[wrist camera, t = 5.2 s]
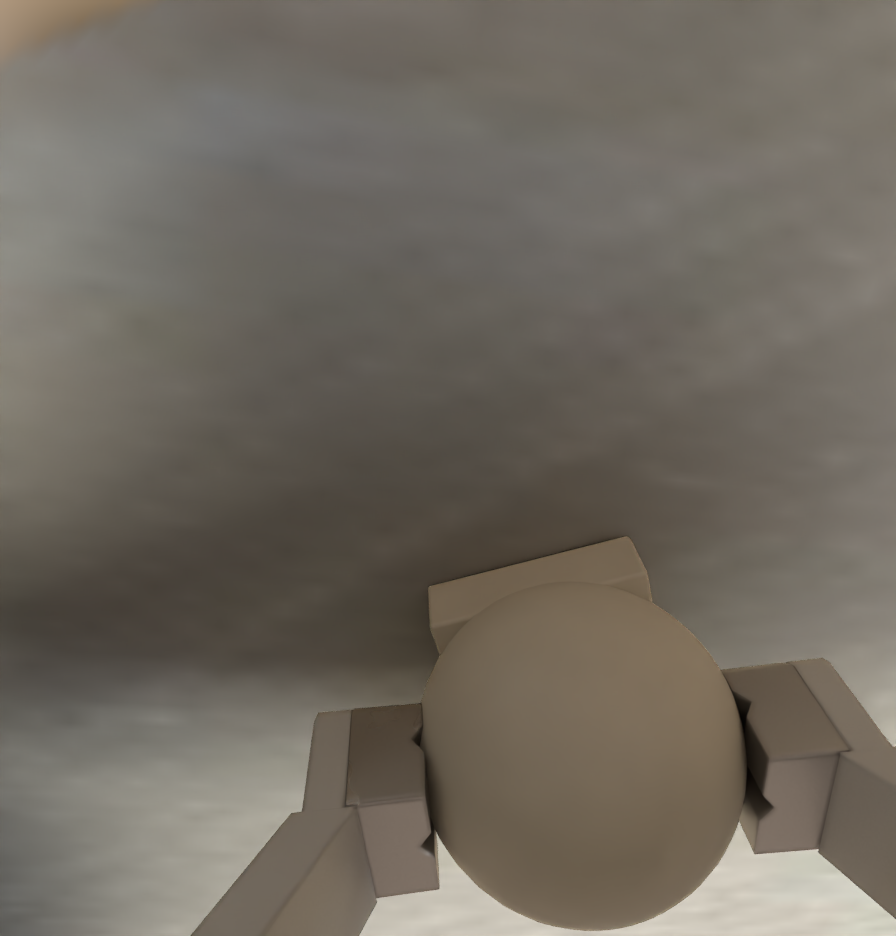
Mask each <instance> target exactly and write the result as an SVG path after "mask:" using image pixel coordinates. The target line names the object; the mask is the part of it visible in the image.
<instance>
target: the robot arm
mask: <svg viewBox="0 0 896 936" xmlns="http://www.w3.org/2000/svg"><path fill="white" fill-rule="evenodd" d="M721 672H722V674H723V675H724V677H725V679H726V681H727V683H728V685H729V687H730V690H731V692H732V694H733V696H734V699H735V702H736V705H737V707H738V710H739V713H740V717H741V721H742V725H743V729H744V738H745V747H746V755H747V780H746V791H745V798H744V803H743V807H742V811H741V814H740V818H739V822H740V824H741V826H742V828H743V830H744V832H745V835H746V837H747V839H748V841H749V843H750V845H751V848H752V850H753V852H754V854H763V853H775V852H787V851H799V850H812V849H819V851H818V852H819V853H820V854H821V855H822V856H823V857H824V858H826V859H827V860H828V861H829V862H830V863H831V864H833V865H834V866H835V867H836V868H837V869H838V870H840V871H841V872H842V873H843V874H844V875H845V876H847V877H848V878H849V879H850V880H851V881H852V882H853V883H855V884H856V885H857V886H858V887H859V888H860V889H862V890H863V891H864V892H865V893H866V894H867V895H869V896H870V897H871V898H872V899H873V900H874V901H876V902H877V903H878V904H879V905H880V906H881V907H882V908H884V909H885V910H886V911H887V912H888V913H889V914H891V915H892V916H893V917H894V918H895V919H896V747H892V746H891V744H890V743H889V742H888V740H887V739H886V737H885V736H884V735H883V733H882V732H881V731H880V729H879V728H878V727H877V725H876V724H875V723H874V721H873V720H872V719H871V717H870V716H869V715H868V713H867V712H866V711H865V709H864V708H863V706H862V705H861V704H860V702H859V701H858V700H857V698H856V697H855V696H854V694H853V693H852V692H851V690H850V689H849V688H848V686H847V685H846V684H845V682H844V681H843V680H842V678H841V677H840V676H839V674H838V673H837V671H836V670H835V669H834V667H833V666H832V665H831V663H830V662H828V661H827V660H825V659H824V658H815V659H807V660H799V661H790V662H786V663H774V664H765V665H757V666H749V667H740V668H732V669H723V670H721ZM422 731H423V711H422V703H415V704H403V705H391V706H379V707H367V708H355V709H353V710H341V711H328V712H318V714H317V716H316V718H315V721H314V725H313V733H312V740H311V748H310V756H309V763H308V771H307V778H306V786H305V793H304V801H303V808H302V812H297V813H291V814H290V815H289V817H288V818H287V819H286V820H285V821H284V823H283V824H282V825H281V826H280V827H279V829H278V830H277V831H276V832H275V834H274V835H273V836H272V837H271V838H270V840H269V841H268V842H267V843H266V845H265V846H264V847H263V848H262V849H261V851H260V852H259V853H258V854H257V855H256V857H255V858H254V859H253V860H252V862H251V863H250V864H249V865H248V866H247V868H246V869H245V870H244V871H243V873H242V874H241V875H240V876H239V877H238V879H237V880H236V881H235V882H234V883H233V885H232V886H231V887H230V888H229V890H228V891H227V892H226V893H225V894H224V896H223V897H222V898H221V899H220V901H219V902H218V903H217V904H216V905H215V907H214V908H213V909H212V910H211V911H210V913H209V914H208V915H207V916H206V918H205V919H204V920H203V921H202V922H201V924H200V925H199V926H198V927H197V929H196V930H195V931H194V932H193V933H192V935H191V936H359V934H360V933H361V931H362V929H363V927H364V925H365V923H366V922H367V920H368V918H369V916H370V914H371V912H372V911H373V909H374V907H375V905H376V903H377V900H376V898H380V897H387V896H394V895H401V894H408V893H415V892H423V891H430V890H437V889H439V867H438V844H437V836H436V829H435V827H434V824H433V822H432V819H431V812H430V796H429V786H428V777H427V768H426V761H425V755H424V752H423V751H422V750H421V749H420V742H421V736H422Z"/></svg>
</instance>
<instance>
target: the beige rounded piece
mask: <svg viewBox="0 0 896 936" xmlns="http://www.w3.org/2000/svg"><path fill="white" fill-rule="evenodd" d="M428 602H429V621H430V629H431V632H432V635H433V638H434V640H435V643H436V646H437V649H438V651H439V654H440V657H439V658H438V660H437V662H436V664H435V666H434V668H433V670H432V672H431V675H430V677H429V679H428V681H427V684H426V686H425V690H424V693H423V696H422V700H421V703H422V711H423V731H422V736H421V742H420V749H421V750H422V751H423V752H424V755H425V761H426V768H427V777H428V786H429V796H430V812H431V819H432V822H433V824H434V827H435V829H436V832H437V834H438V836H439V838H440V840H441V841H442V843H443V844H444V846H445V847H446V849H447V850H448V852H449V853H450V855H451V856H452V858H453V859H454V860H455V862H456V863H457V865H458V866H459V867H460V868H461V869H462V870H463V871H464V872H465V873H466V874H467V875H468V876H469V877H470V879H471V880H472V881H473V882H474V883H475V884H476V885H477V886H478V887H479V888H481V889H482V890H483V891H485V892H486V893H487V894H489V895H490V896H491V897H493V898H494V899H496V900H497V901H498V902H500V903H501V904H502V905H504V906H506V907H507V908H509V909H511V910H513V911H515V912H517V913H519V914H521V915H523V916H526V917H528V918H530V919H533V920H535V921H537V922H540V923H544V924H547V925H551V926H555V927H561V928H567V929H573V930H583V931H601V930H611V929H618V928H623V927H627V926H632V925H635V924H638V923H641V922H644V921H647V920H649V919H652V918H654V917H656V916H658V915H660V914H662V913H664V912H666V911H667V910H669V909H670V908H672V907H674V906H675V905H677V904H678V903H680V902H681V901H682V900H684V899H685V898H686V897H688V896H689V895H690V894H692V893H693V892H694V891H695V890H696V889H697V888H698V887H699V886H700V885H701V884H702V883H703V881H704V880H705V879H706V878H707V877H708V875H709V874H710V873H711V872H712V871H713V869H714V868H715V867H716V866H717V865H718V863H719V861H720V860H721V858H722V857H723V855H724V853H725V851H726V849H727V847H728V845H729V843H730V841H731V840H732V837H733V835H734V833H735V830H736V828H737V825H738V821H739V818H740V814H741V811H742V807H743V803H744V798H745V791H746V780H747V755H746V747H745V738H744V729H743V725H742V721H741V717H740V713H739V710H738V707H737V705H736V702H735V699H734V696H733V694H732V692H731V690H730V687H729V685H728V683H727V681H726V679H725V677H724V675H723V674H722V672H721V670H720V669H719V667H718V665H717V664H716V662H715V661H714V659H713V658H712V656H711V655H710V653H709V652H708V651H707V650H706V649H705V647H704V646H703V645H702V644H701V643H700V641H699V640H698V639H697V638H696V637H695V636H694V635H693V634H692V633H691V632H690V631H689V630H688V629H687V628H686V627H685V626H684V625H682V624H681V623H680V622H679V621H678V620H677V619H675V618H674V617H673V616H671V615H670V614H669V613H667V612H666V611H664V610H663V609H661V608H660V607H658V606H656V605H655V604H653V601H652V595H651V589H650V584H649V578H648V573H647V571H646V569H645V567H644V565H643V563H642V561H641V559H640V557H639V555H638V553H637V551H636V549H635V547H634V544H633V542H632V540H631V539H630V538H629V537H627V536H625V537H621V538H617V539H613V540H609V541H605V542H601V543H597V544H594V545H590V546H586V547H582V548H578V549H574V550H570V551H566V552H562V553H558V554H554V555H550V556H546V557H542V558H539V559H535V560H531V561H527V562H523V563H519V564H515V565H511V566H507V567H503V568H499V569H495V570H491V571H487V572H483V573H480V574H476V575H472V576H468V577H464V578H460V579H456V580H452V581H448V582H444V583H440V584H436V585H432V586H430V587H429V588H428Z"/></svg>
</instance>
